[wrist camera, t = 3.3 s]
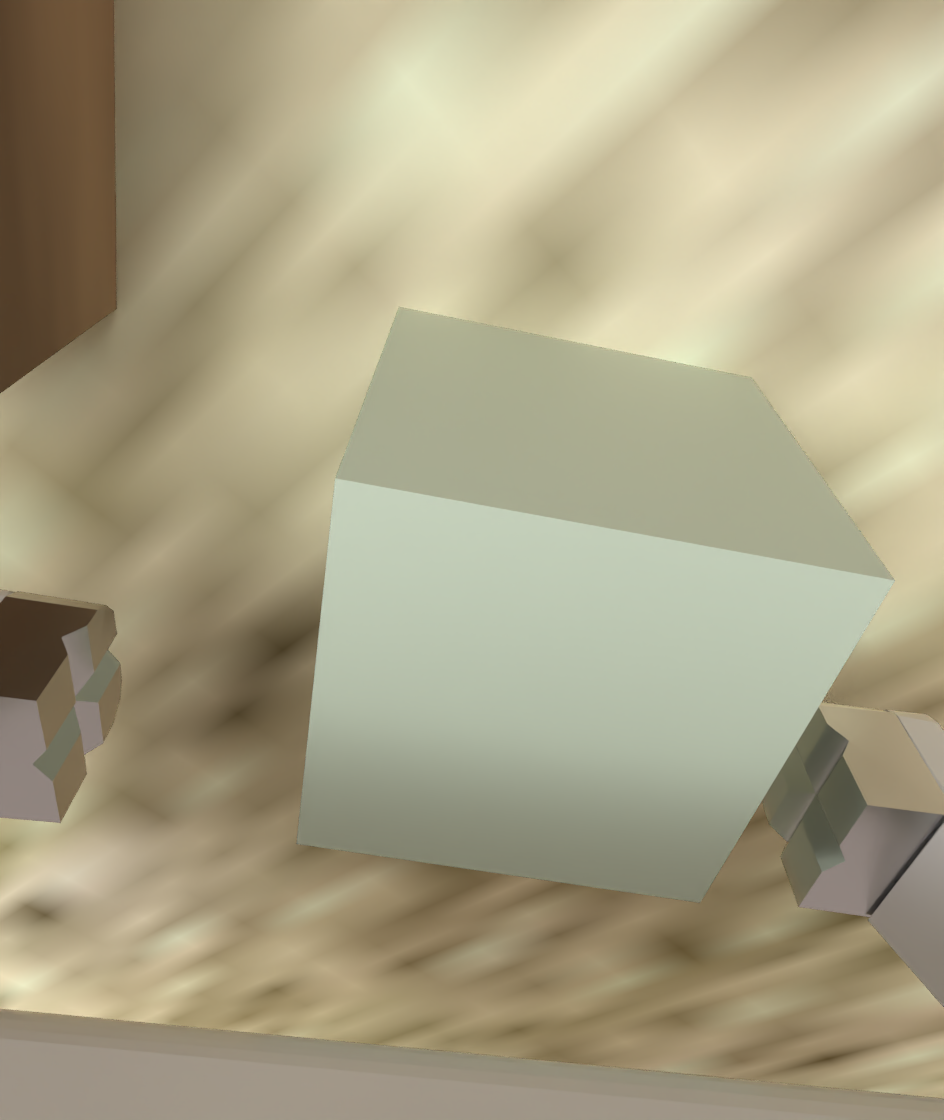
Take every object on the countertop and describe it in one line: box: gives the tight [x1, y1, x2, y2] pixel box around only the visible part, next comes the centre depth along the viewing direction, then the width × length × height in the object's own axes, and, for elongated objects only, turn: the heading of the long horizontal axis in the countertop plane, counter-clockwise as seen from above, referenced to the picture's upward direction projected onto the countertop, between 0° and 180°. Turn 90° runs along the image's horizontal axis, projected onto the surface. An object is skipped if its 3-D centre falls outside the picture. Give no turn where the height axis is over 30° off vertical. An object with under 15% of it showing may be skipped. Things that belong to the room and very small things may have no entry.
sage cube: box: [296, 307, 895, 903], centre depth 10 cm, size 5×5×5 cm
